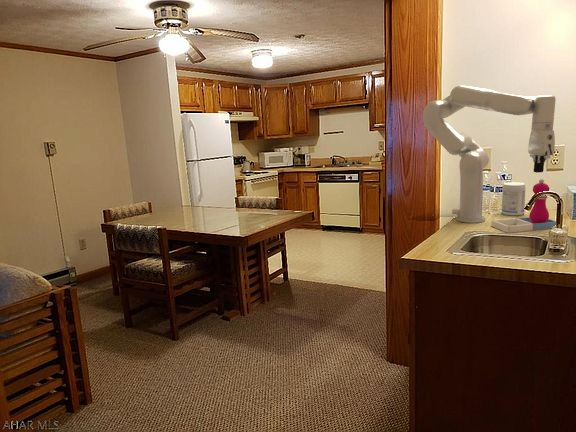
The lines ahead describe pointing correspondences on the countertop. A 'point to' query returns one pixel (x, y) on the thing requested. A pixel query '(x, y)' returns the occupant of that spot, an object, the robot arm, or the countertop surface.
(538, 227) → the frame
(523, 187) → the supplement tub
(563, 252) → the countertop surface
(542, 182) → the pepper mill
